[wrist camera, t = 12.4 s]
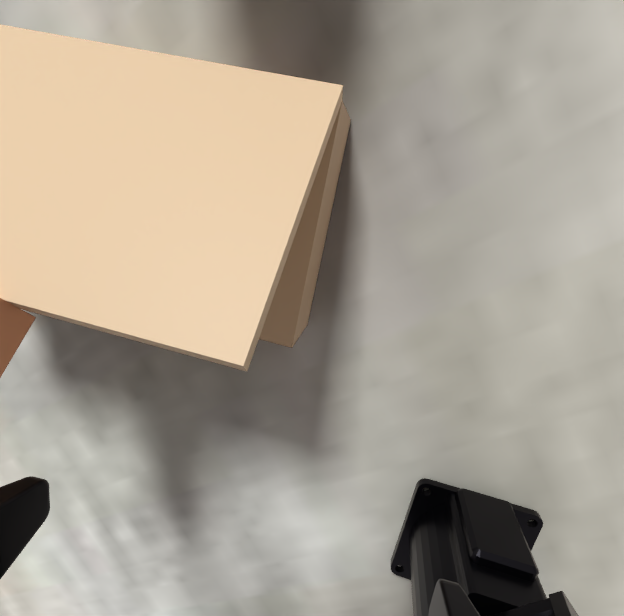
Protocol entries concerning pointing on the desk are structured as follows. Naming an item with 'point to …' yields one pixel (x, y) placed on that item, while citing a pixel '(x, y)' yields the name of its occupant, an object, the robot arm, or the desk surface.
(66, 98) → the lid flap
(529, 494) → the desk surface
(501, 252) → the desk surface
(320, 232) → the carton
